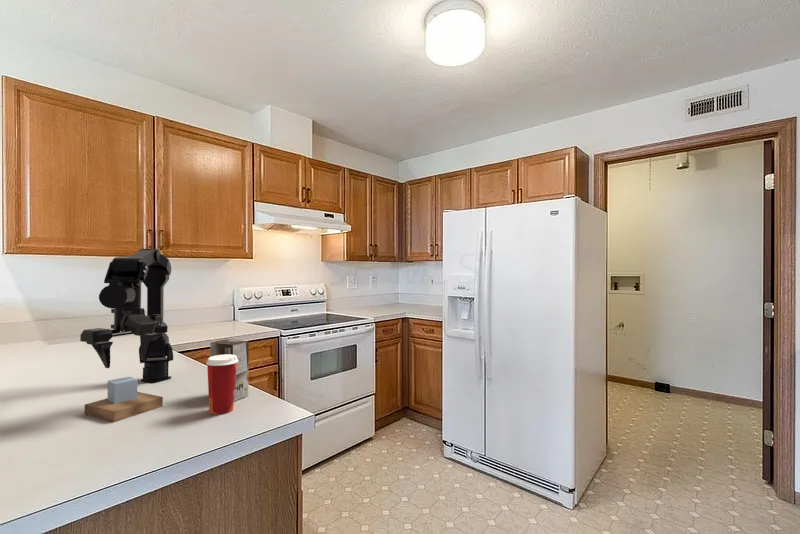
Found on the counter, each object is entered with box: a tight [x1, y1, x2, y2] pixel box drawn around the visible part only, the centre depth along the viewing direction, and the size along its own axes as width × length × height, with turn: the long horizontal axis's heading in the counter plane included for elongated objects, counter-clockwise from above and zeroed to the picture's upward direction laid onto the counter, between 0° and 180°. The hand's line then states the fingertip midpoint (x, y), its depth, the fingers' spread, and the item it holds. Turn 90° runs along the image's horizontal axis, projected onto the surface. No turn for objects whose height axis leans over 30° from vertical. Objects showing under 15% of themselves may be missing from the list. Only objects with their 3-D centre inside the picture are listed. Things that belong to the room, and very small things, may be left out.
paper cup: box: [205, 354, 238, 416], centre depth 99 cm, size 8×8×14 cm
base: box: [83, 391, 164, 423], centre depth 99 cm, size 12×12×2 cm
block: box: [106, 376, 139, 404], centre depth 100 cm, size 5×5×5 cm
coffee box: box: [209, 339, 250, 402], centre depth 110 cm, size 9×6×16 cm
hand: (126, 364), depth 100 cm, fingers open, 9 cm apart
